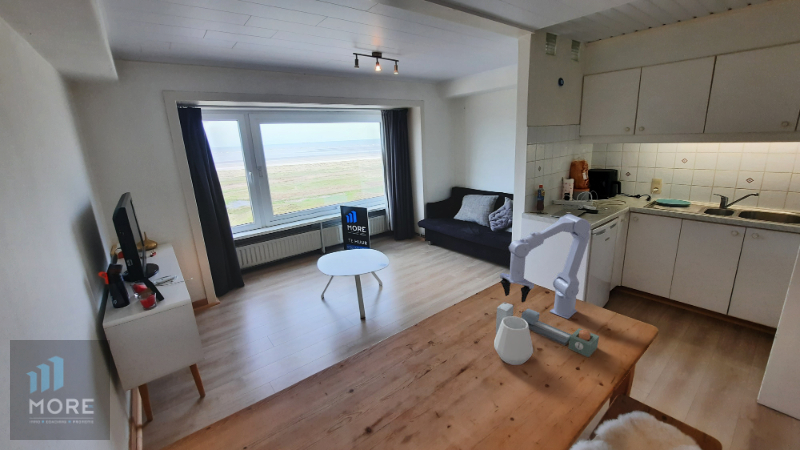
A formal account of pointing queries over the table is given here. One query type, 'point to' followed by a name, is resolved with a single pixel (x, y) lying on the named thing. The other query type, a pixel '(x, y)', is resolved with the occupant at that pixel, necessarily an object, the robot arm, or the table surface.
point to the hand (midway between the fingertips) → (515, 298)
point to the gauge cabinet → (583, 343)
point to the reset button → (584, 335)
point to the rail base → (550, 332)
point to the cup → (513, 341)
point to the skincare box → (503, 313)
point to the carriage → (530, 316)
